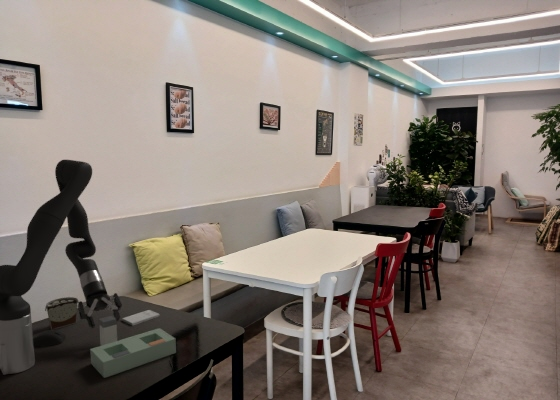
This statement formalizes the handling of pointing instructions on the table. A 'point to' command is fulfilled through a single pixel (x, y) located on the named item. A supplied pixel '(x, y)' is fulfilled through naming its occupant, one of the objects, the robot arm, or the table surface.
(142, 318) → the external hard drive
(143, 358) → the socket block
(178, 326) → the table surface
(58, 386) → the table surface
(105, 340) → the plug
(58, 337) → the computer mouse
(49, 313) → the food container
